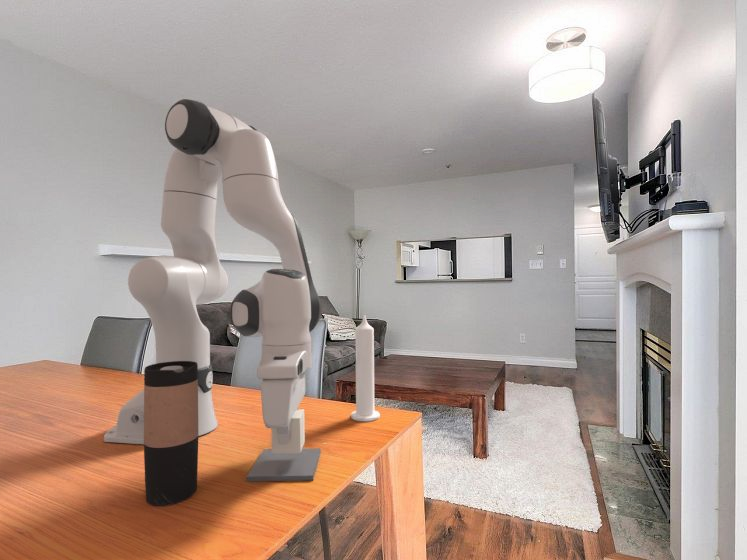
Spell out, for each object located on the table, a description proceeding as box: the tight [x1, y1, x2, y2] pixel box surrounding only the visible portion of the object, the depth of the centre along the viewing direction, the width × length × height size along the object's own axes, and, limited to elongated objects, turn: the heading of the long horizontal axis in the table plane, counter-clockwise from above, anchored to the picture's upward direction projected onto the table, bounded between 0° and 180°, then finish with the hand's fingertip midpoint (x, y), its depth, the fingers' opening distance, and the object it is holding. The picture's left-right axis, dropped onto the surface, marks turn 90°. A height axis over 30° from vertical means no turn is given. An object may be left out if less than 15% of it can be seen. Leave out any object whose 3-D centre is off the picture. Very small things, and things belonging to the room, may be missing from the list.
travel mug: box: [143, 361, 199, 507], centre depth 62 cm, size 8×8×20 cm
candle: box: [350, 314, 381, 422], centre depth 98 cm, size 7×7×25 cm
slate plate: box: [245, 447, 322, 482], centre depth 71 cm, size 11×11×1 cm
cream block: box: [270, 408, 306, 454], centre depth 72 cm, size 5×5×6 cm
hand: (288, 435), depth 71 cm, fingers closed on cream block, 5 cm apart
